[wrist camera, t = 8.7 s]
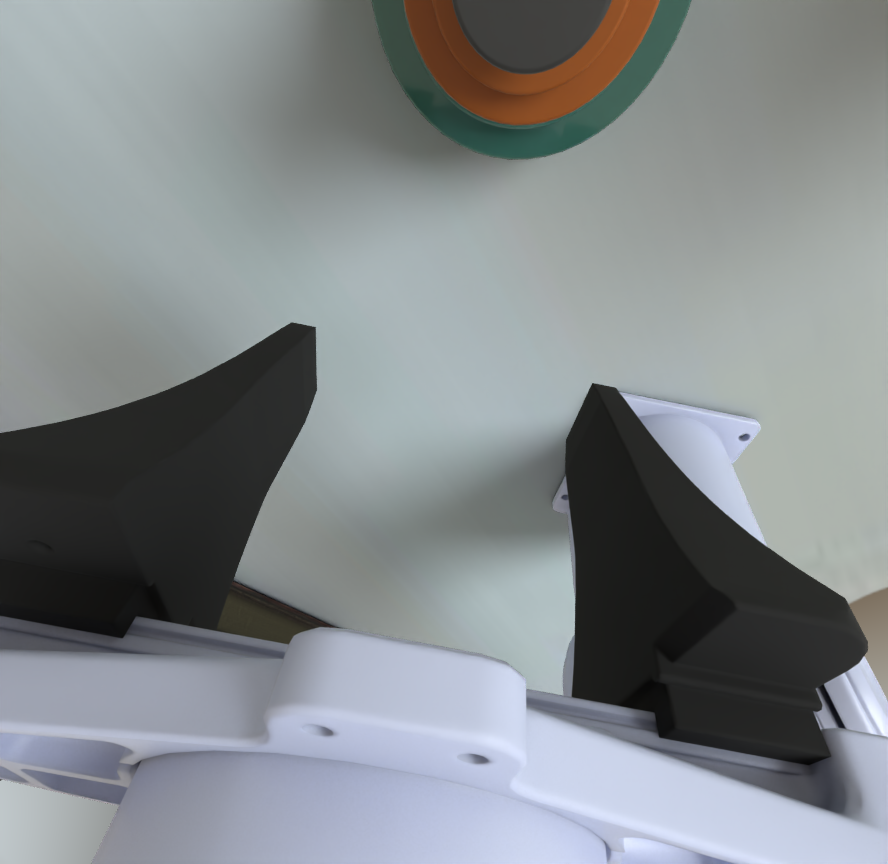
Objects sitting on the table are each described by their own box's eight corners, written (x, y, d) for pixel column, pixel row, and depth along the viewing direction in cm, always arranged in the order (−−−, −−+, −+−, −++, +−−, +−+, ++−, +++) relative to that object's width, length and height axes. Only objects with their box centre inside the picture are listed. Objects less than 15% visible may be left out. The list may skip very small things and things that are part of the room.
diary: (94, 634, 55) (63, 681, 51) (162, 544, 40) (125, 602, 36) (248, 691, 61) (231, 737, 58) (354, 632, 47) (340, 688, 43)
